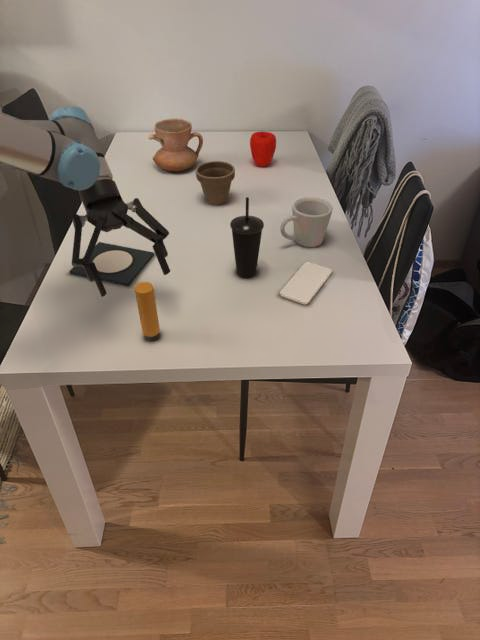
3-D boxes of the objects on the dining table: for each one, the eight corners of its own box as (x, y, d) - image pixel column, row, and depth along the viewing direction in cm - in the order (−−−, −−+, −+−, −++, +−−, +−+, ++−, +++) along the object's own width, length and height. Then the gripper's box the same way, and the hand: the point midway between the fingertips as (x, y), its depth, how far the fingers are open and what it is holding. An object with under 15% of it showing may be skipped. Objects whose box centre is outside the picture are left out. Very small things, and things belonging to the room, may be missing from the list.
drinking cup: (238, 285, 113) (238, 209, 100) (226, 268, 119) (224, 193, 105) (267, 277, 116) (270, 202, 102) (253, 260, 121) (255, 187, 108)
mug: (336, 243, 127) (341, 209, 121) (290, 259, 122) (293, 225, 115) (312, 226, 134) (316, 193, 127) (268, 240, 128) (269, 207, 122)
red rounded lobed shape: (272, 158, 169) (274, 127, 162) (277, 168, 163) (279, 137, 155) (247, 159, 168) (248, 128, 161) (251, 170, 162) (252, 138, 154)
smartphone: (278, 293, 110) (306, 261, 119) (278, 295, 110) (305, 263, 120) (307, 303, 107) (333, 269, 117) (306, 306, 107) (332, 272, 117)
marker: (140, 340, 99) (131, 291, 91) (148, 329, 102) (139, 280, 93) (156, 344, 98) (148, 294, 90) (163, 332, 101) (156, 283, 92)
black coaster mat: (69, 273, 117) (69, 270, 116) (99, 244, 127) (98, 241, 126) (128, 286, 113) (127, 283, 112) (154, 254, 123) (153, 251, 122)
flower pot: (209, 213, 139) (207, 180, 133) (190, 197, 147) (188, 166, 140) (242, 203, 144) (242, 171, 137) (222, 188, 151) (222, 157, 145)
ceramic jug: (151, 177, 157) (146, 133, 148) (151, 159, 168) (146, 118, 159) (206, 174, 159) (204, 131, 150) (202, 156, 170) (200, 115, 161)
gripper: (149, 178, 104) (186, 269, 104) (33, 208, 94) (74, 308, 94) (157, 163, 97) (196, 260, 97) (32, 194, 87) (76, 301, 87)
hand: (136, 284), depth 96 cm, fingers open, 13 cm apart
